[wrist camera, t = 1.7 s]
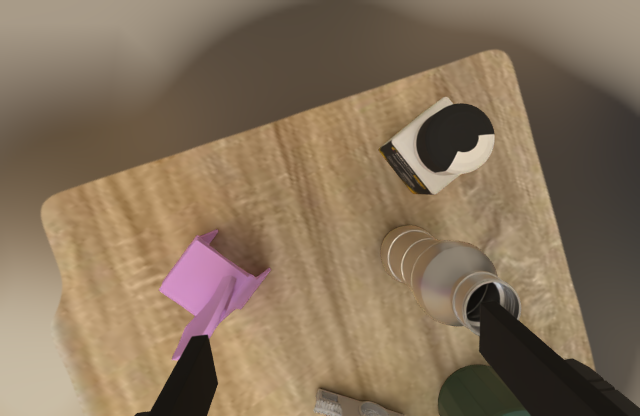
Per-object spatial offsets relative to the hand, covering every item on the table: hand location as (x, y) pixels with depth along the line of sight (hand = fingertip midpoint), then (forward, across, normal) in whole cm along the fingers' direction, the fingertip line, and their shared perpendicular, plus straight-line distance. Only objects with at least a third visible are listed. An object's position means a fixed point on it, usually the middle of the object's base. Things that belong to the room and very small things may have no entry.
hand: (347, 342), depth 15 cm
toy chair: (+24, +12, +5) cm, 27 cm away
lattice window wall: (+20, -2, +24) cm, 31 cm away
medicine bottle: (+25, -13, -6) cm, 29 cm away
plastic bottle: (+23, -10, +5) cm, 26 cm away
